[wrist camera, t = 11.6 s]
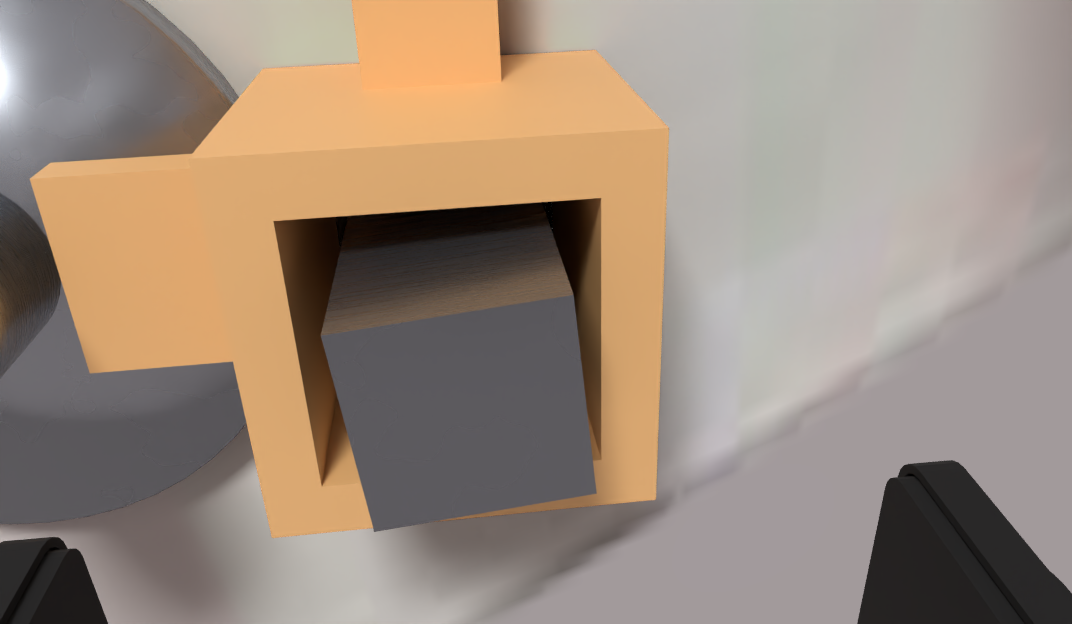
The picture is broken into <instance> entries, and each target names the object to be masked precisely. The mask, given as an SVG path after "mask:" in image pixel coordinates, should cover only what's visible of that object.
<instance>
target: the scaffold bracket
mask: <svg viewBox="0 0 1072 624" xmlns="http://www.w3.org/2000/svg"><path fill="white" fill-rule="evenodd" d="M352 7H353V15H354V23H355V31H356V40H357V48H358V56H359V63H356V64H338V65H320V66H302V67H284V68H267V69H262V70H261V72H260V73H259V74H258V75H257V76H256V78H255V79H254V80H253V81H252V82H251V84H250V85H249V86H248V87H247V88H246V90H245V91H244V92H243V93H242V94H241V96H240V97H239V98H238V99H237V100H236V102H235V103H234V104H233V105H232V107H231V108H230V109H229V110H228V111H227V113H226V114H225V115H224V116H223V117H222V119H221V120H220V121H219V122H218V123H217V125H216V126H215V127H214V128H213V129H212V131H211V132H210V133H209V134H208V135H207V137H206V138H205V139H204V140H203V141H202V143H201V144H200V145H199V146H198V147H197V149H196V150H195V151H194V152H193V153H192V154H180V155H164V156H148V157H133V158H117V159H101V160H86V161H70V162H54V163H49V164H48V165H47V166H46V167H44V168H43V169H42V170H40V171H39V172H38V173H37V174H35V175H34V176H33V177H31V178H30V182H31V185H32V188H33V191H34V195H35V198H36V201H37V204H38V208H39V211H40V214H41V217H42V221H43V224H44V227H45V230H46V233H47V237H48V240H49V243H50V246H51V250H52V253H53V256H54V259H55V262H56V266H57V269H58V272H59V275H60V279H61V282H62V285H63V288H64V292H65V295H66V298H67V301H68V304H69V308H70V311H71V314H72V317H73V321H74V324H75V327H76V330H77V333H78V337H79V340H80V343H81V346H82V350H83V353H84V356H85V359H86V363H87V366H88V369H89V372H90V373H101V372H113V371H125V370H137V369H149V368H161V367H173V366H185V365H197V364H209V363H221V362H233V364H234V369H235V373H236V378H237V382H238V387H239V391H240V396H241V400H242V405H243V409H244V414H245V418H246V423H247V428H248V432H249V437H250V441H251V446H252V450H253V455H254V459H255V464H256V468H257V473H258V477H259V482H260V486H261V491H262V495H263V500H264V504H265V509H266V513H267V518H268V522H269V527H270V531H271V536H272V538H277V537H287V536H297V535H307V534H317V533H327V532H337V531H347V530H357V529H367V528H373V525H372V522H371V518H370V514H369V511H368V507H367V503H366V500H365V496H364V492H363V489H362V485H361V481H360V478H359V474H358V470H357V467H356V463H355V459H354V456H353V452H352V448H351V445H350V441H349V437H348V434H347V430H346V426H345V423H344V419H343V415H342V412H341V408H340V404H339V401H338V397H337V393H336V390H335V386H334V382H333V379H332V375H331V371H330V368H329V364H328V360H327V357H326V353H325V350H324V346H323V342H322V339H321V332H322V328H323V324H324V319H325V315H326V311H327V306H328V302H329V297H330V293H331V289H332V284H333V280H334V276H335V271H336V267H337V263H338V258H339V254H340V246H339V239H338V233H337V226H336V219H335V217H338V216H352V215H366V214H380V213H395V212H409V211H423V210H437V209H451V208H466V207H480V206H494V205H508V204H523V203H537V202H551V201H552V207H553V236H554V239H555V242H556V245H557V248H558V251H559V254H560V257H561V260H562V263H563V266H564V268H565V271H566V274H567V277H568V280H569V283H570V286H571V289H572V292H573V295H574V303H575V312H576V320H577V329H578V337H579V346H580V355H581V363H582V372H583V380H584V389H585V397H586V406H587V415H588V423H589V432H590V440H591V449H592V457H593V466H594V475H595V483H596V492H597V494H592V495H586V496H580V497H574V498H568V499H562V500H557V501H551V502H545V503H539V504H533V505H527V506H522V507H516V508H510V509H504V510H498V511H492V512H487V513H481V514H475V515H469V516H463V517H457V518H451V519H446V520H440V521H447V520H457V519H467V518H477V517H487V516H497V515H507V514H517V513H527V512H537V511H547V510H557V509H567V508H578V507H588V506H598V505H608V504H618V503H628V502H638V501H648V500H656V481H657V453H658V425H659V396H660V368H661V340H662V312H663V284H664V255H665V227H666V199H667V171H668V143H669V127H668V126H667V125H666V124H665V123H664V122H663V121H662V120H661V119H660V118H659V117H658V116H657V115H656V114H655V113H654V112H653V110H652V109H651V108H650V107H649V106H648V105H647V104H646V103H645V102H644V101H643V100H642V99H641V98H640V97H639V96H638V94H637V93H636V92H635V91H634V90H633V89H632V88H631V87H630V86H629V85H628V84H627V83H626V82H625V81H624V80H623V79H622V77H621V76H620V75H619V74H618V73H617V72H616V71H615V70H614V69H613V68H612V67H611V66H610V65H609V64H608V63H607V61H606V60H605V59H604V58H603V57H602V56H601V55H600V54H599V53H598V52H597V51H596V50H587V51H569V52H552V53H534V54H516V55H500V42H499V22H498V3H497V0H352ZM434 522H437V521H434Z"/></svg>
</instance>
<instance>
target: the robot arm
mask: <svg viewBox="0 0 1072 624" xmlns="http://www.w3.org/2000/svg"><path fill="white" fill-rule="evenodd" d="M0 624H108V622H107V620H106V617H105V614H104V612H103V609H102V606H101V604H100V601H99V598H98V596H97V593H96V590H95V588H94V585H93V582H92V580H91V577H90V574H89V572H88V569H87V566H86V564H85V561H84V558H83V556H82V554H81V553H80V551H78V550H77V549H67V547H66V545H65V543H64V542H63V541H62V540H61V539H60V538H58V537H48V538H37V539H25V540H13V541H3V542H1V543H0ZM858 624H1072V593H1071V592H1070V591H1069V590H1068V589H1067V587H1066V586H1065V585H1064V584H1063V583H1062V582H1061V581H1060V580H1059V579H1058V578H1057V577H1056V576H1055V575H1054V574H1052V573H1051V572H1050V571H1049V570H1048V569H1047V568H1046V566H1045V565H1044V564H1043V563H1042V561H1041V560H1040V559H1039V558H1038V557H1037V555H1036V554H1035V553H1034V552H1033V551H1032V549H1031V548H1030V547H1029V546H1028V544H1027V543H1026V542H1025V541H1024V540H1023V539H1022V537H1021V536H1020V535H1019V534H1018V532H1017V531H1016V530H1015V529H1014V528H1013V526H1012V525H1011V524H1010V523H1009V521H1008V520H1007V519H1006V518H1005V517H1004V515H1003V514H1002V513H1001V512H1000V511H999V509H998V508H997V507H996V506H995V504H994V503H993V502H992V501H991V500H990V498H989V497H988V496H987V495H986V494H985V492H984V491H983V490H982V489H981V488H980V486H979V485H978V484H977V483H976V481H975V480H974V479H973V478H972V477H971V475H970V474H969V473H968V472H967V471H966V469H965V468H964V467H963V466H961V465H960V464H959V463H958V462H955V461H952V460H951V461H939V462H928V463H916V464H908V465H904V466H903V467H902V468H901V470H900V472H899V475H898V477H897V478H890V479H889V481H888V482H887V484H886V487H885V491H884V496H883V501H882V507H881V511H880V516H879V521H878V526H877V531H876V535H875V540H874V546H873V550H872V555H871V560H870V565H869V569H868V574H867V579H866V584H865V589H864V594H863V599H862V604H861V608H860V613H859V618H858Z"/></svg>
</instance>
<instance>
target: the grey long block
mask: <svg viewBox="0 0 1072 624" xmlns="http://www.w3.org/2000/svg"><path fill="white" fill-rule="evenodd" d="M321 339H322V342H323V346H324V350H325V353H326V357H327V360H328V364H329V368H330V371H331V375H332V379H333V382H334V386H335V390H336V393H337V397H338V401H339V404H340V408H341V412H342V415H343V419H344V423H345V426H346V430H347V434H348V437H349V441H350V445H351V448H352V452H353V456H354V459H355V463H356V467H357V470H358V474H359V478H360V481H361V485H362V489H363V492H364V496H365V500H366V503H367V507H368V511H369V514H370V518H371V522H372V525H373V529H374V532H376V531H381V530H387V529H393V528H399V527H405V526H411V525H416V524H422V523H428V522H434V521H440V520H446V519H451V518H457V517H463V516H469V515H475V514H481V513H487V512H492V511H498V510H504V509H510V508H516V507H522V506H527V505H533V504H539V503H545V502H551V501H557V500H562V499H568V498H574V497H580V496H586V495H592V494H597V492H596V483H595V475H594V466H593V457H592V449H591V440H590V432H589V423H588V415H587V406H586V397H585V389H584V380H583V372H582V363H581V355H580V346H579V337H578V329H577V320H576V312H575V303H574V295H573V292H572V289H571V286H570V283H569V280H568V277H567V274H566V271H565V268H564V266H563V263H562V260H561V257H560V254H559V251H558V248H557V245H556V242H555V239H554V236H553V233H552V231H551V228H550V225H549V222H548V219H547V216H546V213H545V210H544V207H543V204H542V202H537V203H523V204H508V205H494V206H480V207H466V208H451V209H437V210H423V211H409V212H395V213H380V214H366V215H352V216H348V219H347V224H346V228H345V232H344V237H343V241H342V245H341V250H340V254H339V258H338V263H337V267H336V271H335V276H334V280H333V284H332V289H331V293H330V297H329V302H328V306H327V311H326V315H325V319H324V324H323V328H322V332H321Z"/></svg>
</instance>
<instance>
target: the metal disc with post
mask: <svg viewBox="0 0 1072 624" xmlns="http://www.w3.org/2000/svg"><path fill="white" fill-rule="evenodd" d="M238 98H239V97H238V96H237V94H236V93H235V92H234V90H233V89H232V87H231V86H230V84H229V83H228V82H227V80H226V79H225V77H224V76H223V75H222V74H221V73H220V71H219V70H218V69H217V68H216V67H215V66H214V65H213V64H212V63H211V61H210V60H209V59H208V58H207V57H206V56H205V55H204V54H203V53H202V52H201V50H200V49H199V48H198V47H197V46H196V45H195V44H194V43H193V42H192V40H191V39H190V38H188V37H187V36H186V35H185V34H184V33H183V32H182V31H180V30H179V29H178V28H177V27H176V26H175V25H174V24H173V23H171V22H170V21H169V20H168V19H167V18H166V17H165V16H163V15H162V14H161V13H160V12H159V11H158V10H157V9H156V8H154V7H153V6H152V5H151V4H149V3H148V2H146V1H145V0H0V524H24V523H45V522H55V521H61V520H68V519H75V518H82V517H88V516H91V515H95V514H99V513H103V512H107V511H111V510H114V509H118V508H122V507H124V506H127V505H130V504H132V503H135V502H137V501H140V500H143V499H145V498H148V497H150V496H153V495H155V494H157V493H159V492H161V491H163V490H165V489H166V488H168V487H170V486H172V485H174V484H176V483H178V482H179V481H181V480H183V479H185V478H186V477H188V476H189V475H190V474H192V473H193V472H195V471H196V470H197V469H199V468H200V467H202V466H203V465H204V464H206V463H207V462H209V461H210V460H211V459H212V458H214V457H215V456H216V455H217V454H218V453H219V452H220V451H221V450H222V449H223V448H224V447H225V446H226V445H227V444H228V443H229V442H230V441H231V440H232V439H233V438H234V437H235V436H236V435H237V434H238V433H239V431H240V430H241V429H242V427H243V426H244V425H245V424H246V418H245V414H244V409H243V405H242V400H241V396H240V391H239V387H238V382H237V378H236V373H235V369H234V364H233V362H221V363H209V364H197V365H185V366H173V367H161V368H149V369H137V370H125V371H113V372H101V373H90V372H89V369H88V366H87V363H86V359H85V356H84V353H83V350H82V346H81V343H80V340H79V337H78V333H77V330H76V327H75V324H74V321H73V317H72V314H71V311H70V308H69V304H68V301H67V298H66V295H65V292H64V288H63V285H62V282H61V279H60V275H59V272H58V269H57V266H56V262H55V259H54V256H53V253H52V250H51V246H50V243H49V240H48V237H47V233H46V230H45V227H44V224H43V221H42V217H41V214H40V211H39V208H38V204H37V201H36V198H35V195H34V191H33V188H32V185H31V182H30V178H31V177H33V176H34V175H35V174H37V173H38V172H39V171H40V170H42V169H43V168H44V167H46V166H47V165H48V164H49V163H54V162H70V161H86V160H101V159H117V158H133V157H148V156H164V155H180V154H192V153H193V152H194V151H195V150H196V149H197V147H198V146H199V145H200V144H201V143H202V141H203V140H204V139H205V138H206V137H207V135H208V134H209V133H210V132H211V131H212V129H213V128H214V127H215V126H216V125H217V123H218V122H219V121H220V120H221V119H222V117H223V116H224V115H225V114H226V113H227V111H228V110H229V109H230V108H231V107H232V105H233V104H234V103H235V102H236V100H237V99H238Z"/></svg>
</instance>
